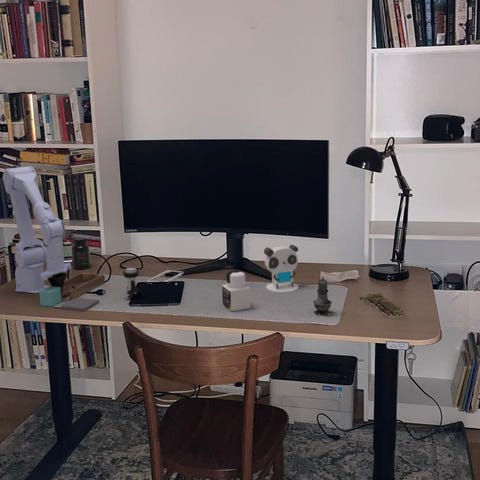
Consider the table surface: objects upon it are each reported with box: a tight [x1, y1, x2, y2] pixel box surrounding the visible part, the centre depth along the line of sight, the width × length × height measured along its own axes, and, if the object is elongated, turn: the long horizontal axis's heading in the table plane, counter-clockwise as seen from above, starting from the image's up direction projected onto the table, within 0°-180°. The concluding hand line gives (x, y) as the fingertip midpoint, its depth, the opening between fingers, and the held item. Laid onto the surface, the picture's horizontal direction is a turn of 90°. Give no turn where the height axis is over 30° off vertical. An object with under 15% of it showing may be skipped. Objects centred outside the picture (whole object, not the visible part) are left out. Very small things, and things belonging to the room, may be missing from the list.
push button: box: [122, 267, 140, 300], centre depth 227 cm, size 7×5×10 cm
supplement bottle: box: [71, 236, 91, 271], centre depth 265 cm, size 7×7×12 cm
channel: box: [62, 272, 106, 301], centre depth 238 cm, size 10×21×3 cm, turn 159°
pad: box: [60, 297, 100, 312], centre depth 221 cm, size 9×9×1 cm
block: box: [39, 285, 63, 307], centre depth 223 cm, size 4×6×5 cm
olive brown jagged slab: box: [359, 292, 405, 316], centre depth 215 cm, size 22×9×2 cm, turn 12°
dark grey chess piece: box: [313, 276, 333, 316], centre depth 209 cm, size 6×6×12 cm
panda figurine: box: [263, 244, 299, 294], centre depth 235 cm, size 12×11×15 cm
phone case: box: [147, 269, 184, 283], centre depth 250 cm, size 7×1×15 cm
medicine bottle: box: [221, 269, 251, 312], centre depth 216 cm, size 7×7×12 cm
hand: (58, 294), depth 228 cm, fingers closed
